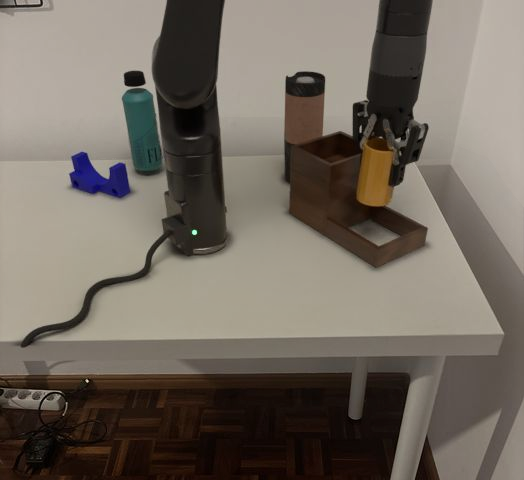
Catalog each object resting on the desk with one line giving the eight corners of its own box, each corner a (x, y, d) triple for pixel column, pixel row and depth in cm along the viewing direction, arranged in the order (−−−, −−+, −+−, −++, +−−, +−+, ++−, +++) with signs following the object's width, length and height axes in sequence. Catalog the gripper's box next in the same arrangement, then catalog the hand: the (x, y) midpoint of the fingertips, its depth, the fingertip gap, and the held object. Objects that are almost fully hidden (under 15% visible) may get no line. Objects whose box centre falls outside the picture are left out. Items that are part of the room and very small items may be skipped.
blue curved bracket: (72, 187, 116) (65, 159, 112) (88, 179, 119) (81, 151, 115) (115, 201, 111) (109, 172, 107) (130, 192, 114) (125, 163, 110)
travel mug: (321, 186, 115) (327, 83, 101) (283, 187, 115) (285, 83, 102) (319, 170, 120) (324, 70, 107) (283, 171, 121) (284, 71, 107)
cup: (372, 209, 90) (382, 155, 84) (348, 195, 94) (356, 142, 88) (398, 200, 93) (409, 147, 87) (374, 187, 96) (383, 135, 90)
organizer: (376, 268, 92) (386, 194, 84) (289, 213, 107) (290, 145, 98) (424, 245, 97) (439, 174, 89) (335, 196, 112) (340, 130, 103)
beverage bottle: (151, 180, 118) (135, 79, 105) (127, 173, 121) (109, 74, 107) (170, 169, 122) (157, 70, 109) (147, 162, 125) (132, 65, 112)
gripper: (343, 59, 83) (333, 168, 94) (415, 83, 74) (395, 201, 85) (379, 51, 86) (366, 158, 97) (453, 73, 77) (429, 188, 88)
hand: (380, 177), depth 91 cm, fingers closed on cup, 6 cm apart
